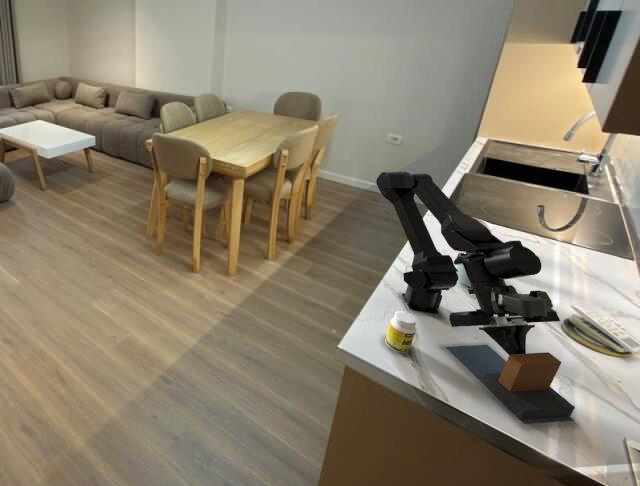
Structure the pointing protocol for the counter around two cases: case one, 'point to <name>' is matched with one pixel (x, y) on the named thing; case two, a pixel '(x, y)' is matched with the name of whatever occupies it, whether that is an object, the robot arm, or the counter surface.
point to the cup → (463, 273)
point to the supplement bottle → (401, 332)
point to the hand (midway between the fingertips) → (521, 364)
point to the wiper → (529, 386)
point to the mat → (490, 370)
